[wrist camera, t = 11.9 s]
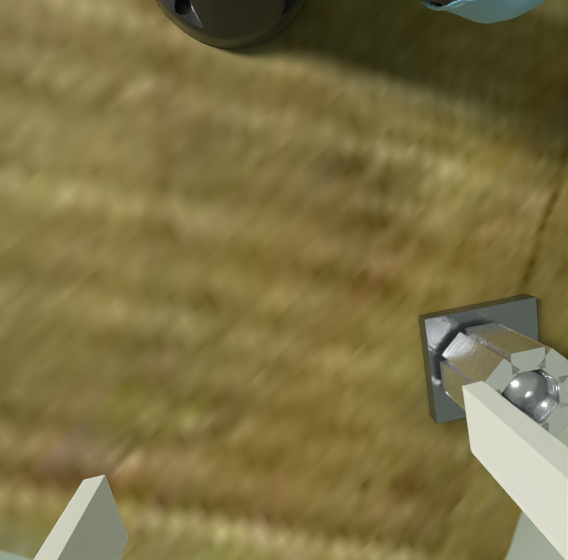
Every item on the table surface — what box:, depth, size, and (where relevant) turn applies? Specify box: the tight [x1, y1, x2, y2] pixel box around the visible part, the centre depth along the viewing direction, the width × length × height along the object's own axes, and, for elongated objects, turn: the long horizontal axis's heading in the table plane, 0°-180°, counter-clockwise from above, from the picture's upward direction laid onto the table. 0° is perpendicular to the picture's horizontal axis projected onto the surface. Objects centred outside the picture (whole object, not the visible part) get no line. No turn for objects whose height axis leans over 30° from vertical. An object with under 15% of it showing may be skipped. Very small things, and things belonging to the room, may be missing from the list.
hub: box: [440, 323, 568, 437], centre depth 36 cm, size 9×9×7 cm
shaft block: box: [419, 294, 546, 423], centre depth 38 cm, size 12×12×8 cm
